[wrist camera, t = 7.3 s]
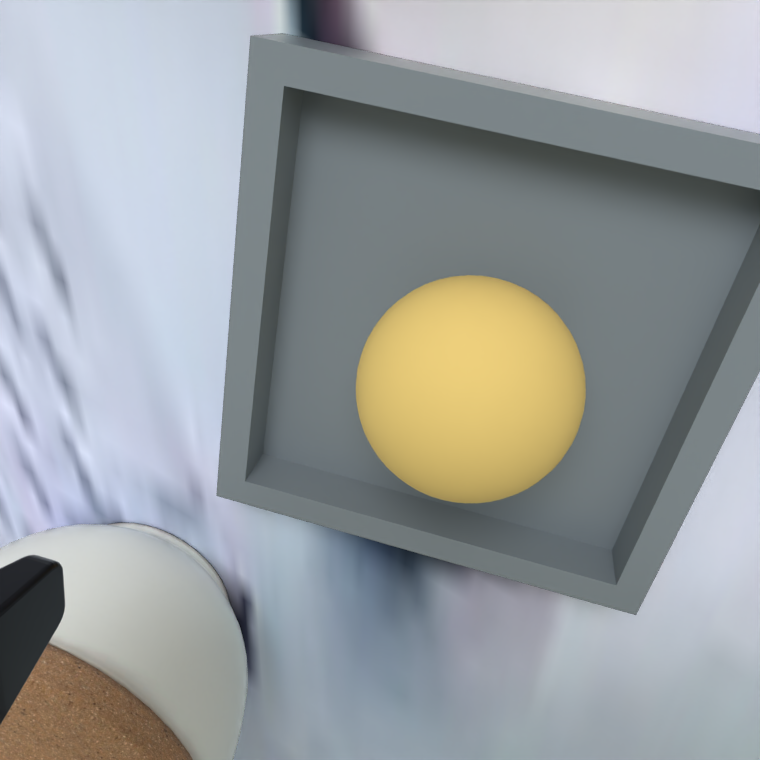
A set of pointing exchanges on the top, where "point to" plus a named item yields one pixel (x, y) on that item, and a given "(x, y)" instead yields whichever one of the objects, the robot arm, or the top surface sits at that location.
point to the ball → (470, 389)
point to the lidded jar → (130, 653)
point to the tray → (498, 260)
